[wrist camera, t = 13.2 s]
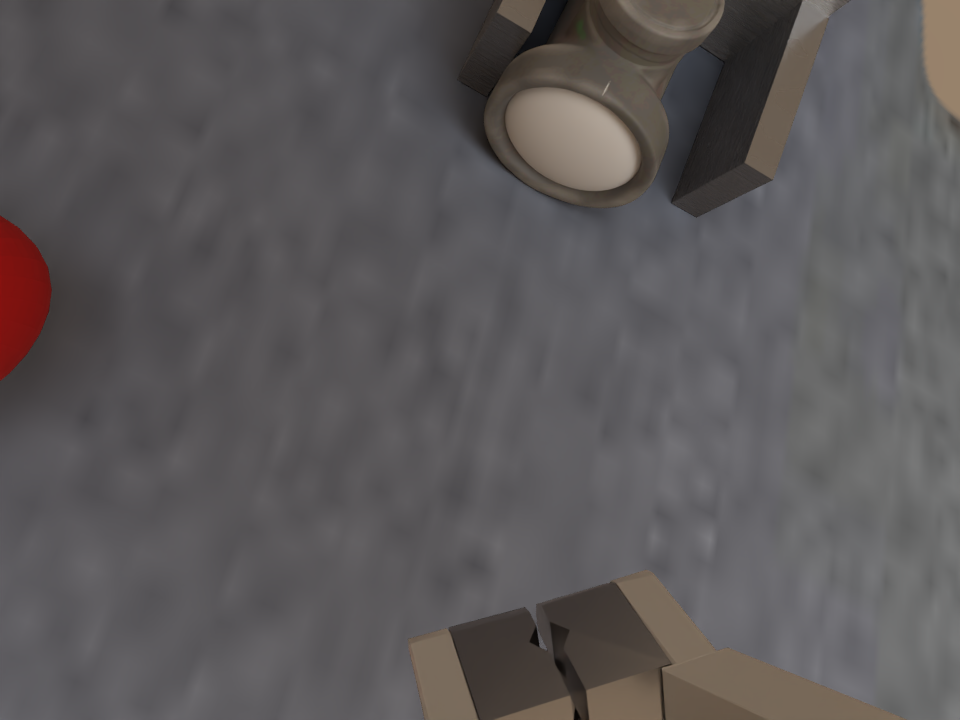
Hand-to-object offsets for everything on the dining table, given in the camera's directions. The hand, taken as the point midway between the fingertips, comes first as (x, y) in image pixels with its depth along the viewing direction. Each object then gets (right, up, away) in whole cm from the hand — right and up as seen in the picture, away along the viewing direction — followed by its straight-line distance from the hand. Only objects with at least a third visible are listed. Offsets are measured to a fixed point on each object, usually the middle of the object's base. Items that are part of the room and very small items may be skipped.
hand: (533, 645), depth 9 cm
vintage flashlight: (+4, +17, +29) cm, 34 cm away
